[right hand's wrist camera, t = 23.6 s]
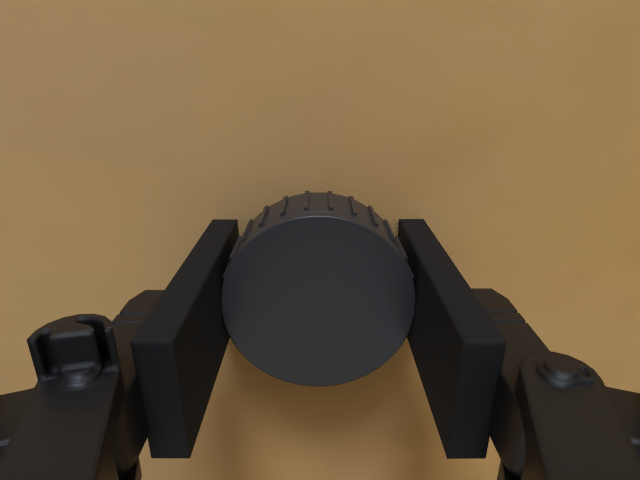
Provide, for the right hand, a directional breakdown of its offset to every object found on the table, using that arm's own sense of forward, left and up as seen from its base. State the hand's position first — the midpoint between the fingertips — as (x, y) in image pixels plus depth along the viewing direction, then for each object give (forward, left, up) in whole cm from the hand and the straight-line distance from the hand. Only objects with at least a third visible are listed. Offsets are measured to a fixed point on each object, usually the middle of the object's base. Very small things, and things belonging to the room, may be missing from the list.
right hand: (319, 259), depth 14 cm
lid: (0, 0, +3) cm, 3 cm away
